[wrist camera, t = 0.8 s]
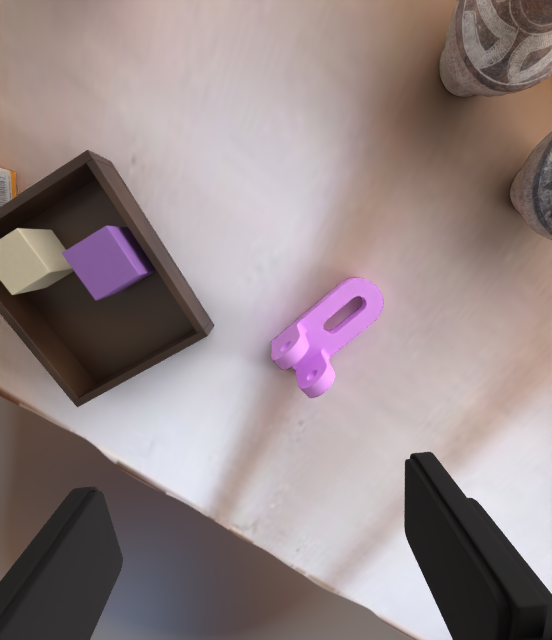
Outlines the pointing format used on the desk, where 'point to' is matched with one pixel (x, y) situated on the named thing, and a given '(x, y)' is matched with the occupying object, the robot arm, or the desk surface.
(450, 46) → the pottery
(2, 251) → the cream block
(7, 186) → the supplement box
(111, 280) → the lavender block
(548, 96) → the desk surface
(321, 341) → the bracket
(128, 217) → the wooden box
